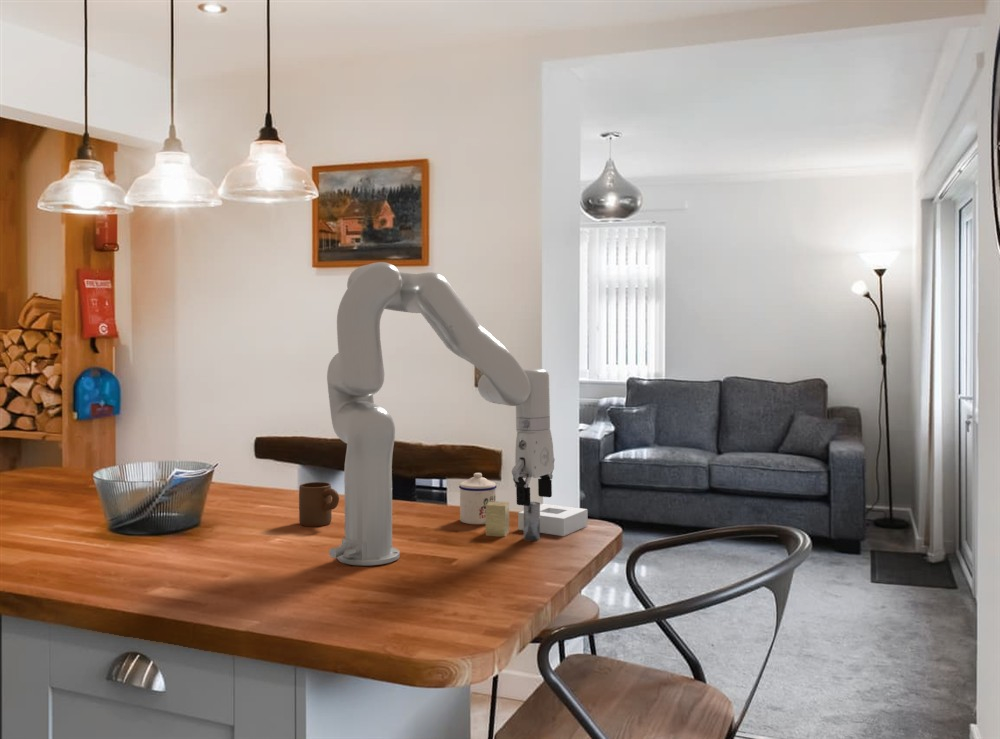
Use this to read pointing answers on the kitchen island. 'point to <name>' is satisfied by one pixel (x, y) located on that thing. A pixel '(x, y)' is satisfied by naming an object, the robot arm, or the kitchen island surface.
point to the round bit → (532, 521)
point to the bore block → (558, 519)
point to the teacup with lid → (476, 499)
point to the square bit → (497, 518)
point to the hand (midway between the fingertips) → (534, 500)
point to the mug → (316, 503)
